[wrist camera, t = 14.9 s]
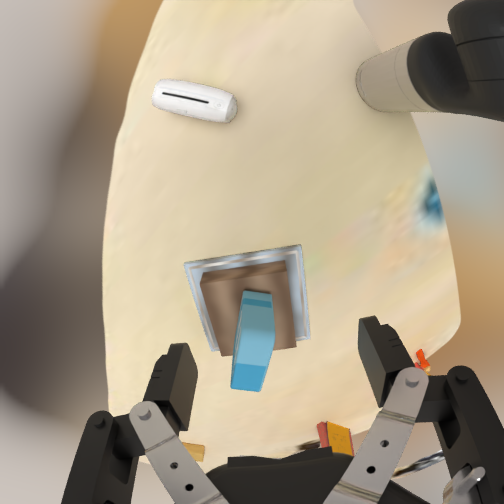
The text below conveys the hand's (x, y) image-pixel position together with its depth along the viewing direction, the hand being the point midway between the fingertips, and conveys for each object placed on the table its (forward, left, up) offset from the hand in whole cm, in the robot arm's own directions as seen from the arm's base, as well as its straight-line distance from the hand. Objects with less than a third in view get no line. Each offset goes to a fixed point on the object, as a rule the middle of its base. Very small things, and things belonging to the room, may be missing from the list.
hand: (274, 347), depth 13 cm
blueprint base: (+5, +21, -36) cm, 42 cm away
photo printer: (+6, -14, -36) cm, 39 cm away
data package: (+5, +21, -32) cm, 38 cm away
